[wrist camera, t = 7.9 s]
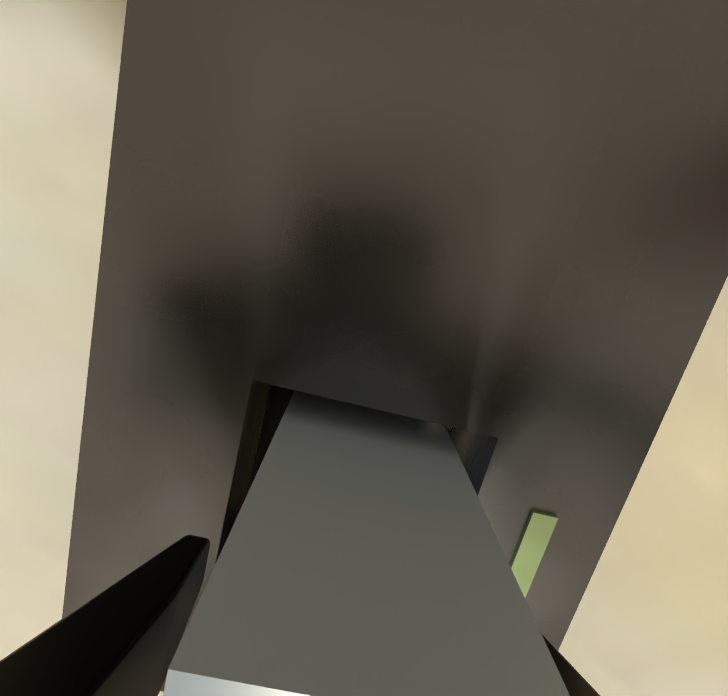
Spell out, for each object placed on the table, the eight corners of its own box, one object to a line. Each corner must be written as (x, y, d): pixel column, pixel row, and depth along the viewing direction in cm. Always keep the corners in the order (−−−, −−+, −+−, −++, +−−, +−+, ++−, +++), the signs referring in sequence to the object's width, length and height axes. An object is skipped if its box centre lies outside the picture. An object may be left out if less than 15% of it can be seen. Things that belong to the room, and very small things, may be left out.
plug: (436, 407, 12) (627, 819, 3) (400, 524, 13) (478, 1082, 4) (301, 375, 12) (139, 734, 3) (274, 496, 13) (89, 1031, 4)
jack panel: (887, -374, 8) (1187, -725, 5) (480, 649, 14) (512, 758, 11) (292, -615, 7) (247, -1192, 4) (122, 579, 13) (53, 676, 10)
